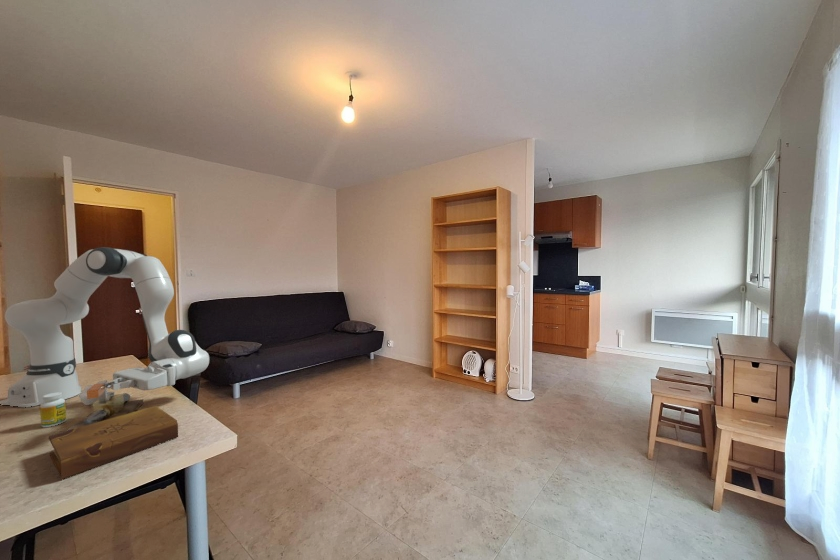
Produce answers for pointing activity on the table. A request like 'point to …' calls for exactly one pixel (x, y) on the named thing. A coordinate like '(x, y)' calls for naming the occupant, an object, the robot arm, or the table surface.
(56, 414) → the supplement bottle
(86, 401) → the muffin
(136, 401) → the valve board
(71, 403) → the table surface
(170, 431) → the brown wooden block
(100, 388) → the valve lever
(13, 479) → the table surface
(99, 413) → the ball valve
